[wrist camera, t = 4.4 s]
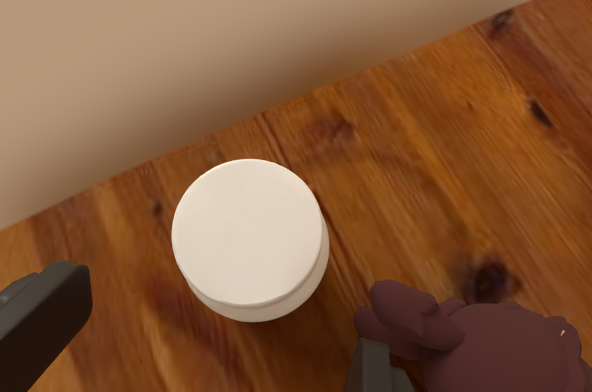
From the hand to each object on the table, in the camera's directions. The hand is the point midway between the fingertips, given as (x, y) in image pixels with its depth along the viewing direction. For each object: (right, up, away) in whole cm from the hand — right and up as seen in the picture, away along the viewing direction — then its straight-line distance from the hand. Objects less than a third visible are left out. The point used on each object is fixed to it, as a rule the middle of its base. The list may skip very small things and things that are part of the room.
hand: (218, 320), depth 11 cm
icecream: (+12, -6, +9) cm, 16 cm away
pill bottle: (+1, 0, +10) cm, 10 cm away
